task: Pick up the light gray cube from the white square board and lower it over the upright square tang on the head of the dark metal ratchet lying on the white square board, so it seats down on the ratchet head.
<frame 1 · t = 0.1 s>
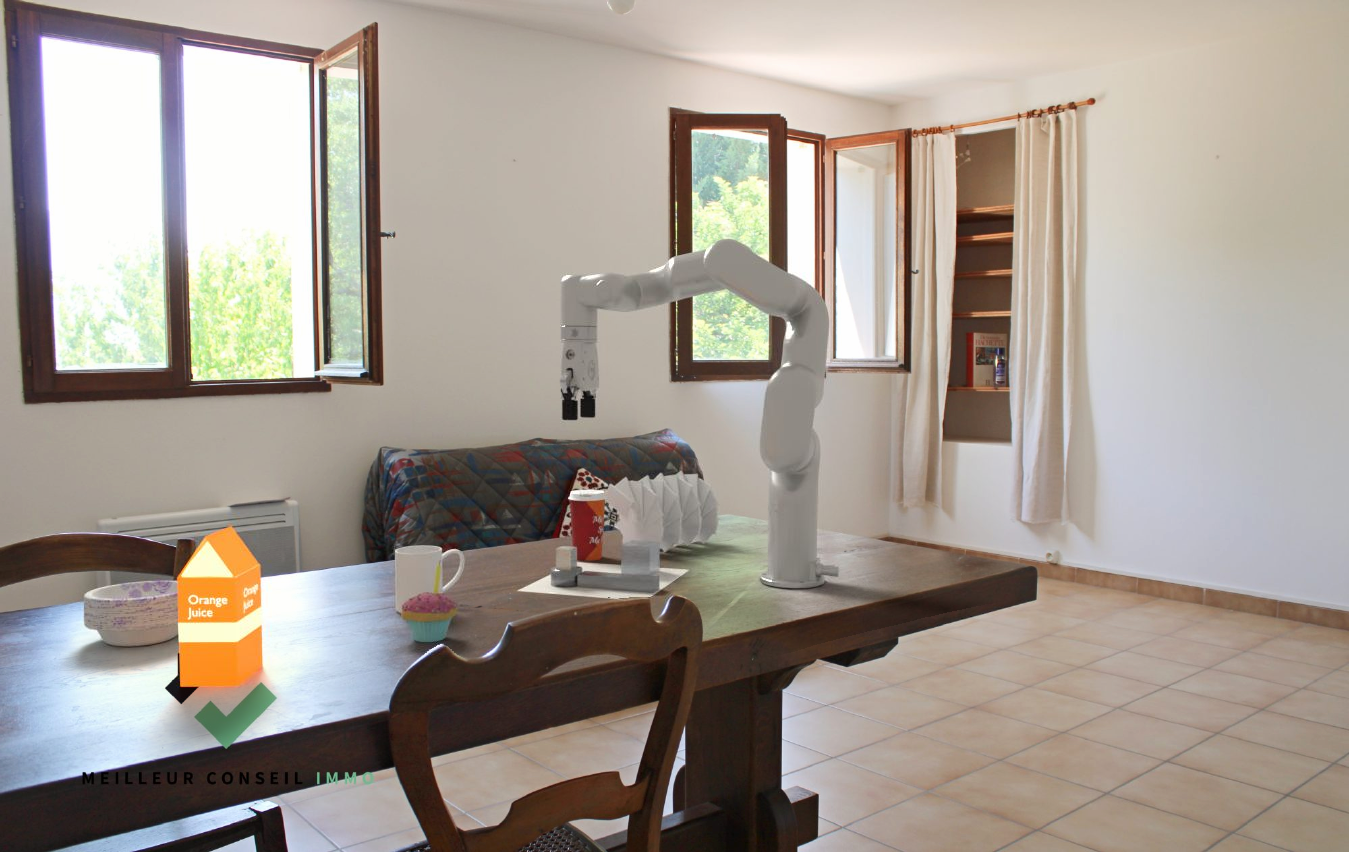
hand: (579, 418, 207), 31 cm above the table, tool pointing down, fingers open, 9 cm apart
white pleated paper lantern: (666, 550, 230), on the table
cupcake: (429, 639, 155), on the table
light gray cube: (640, 572, 201), point 1 cm above the table, touching white square board
ratchet: (566, 584, 190), resting on white square board
paper bowls: (141, 640, 154), on the table
orange juice: (222, 677, 136), on the table
coffee cup: (587, 561, 216), on the table
mug: (431, 609, 174), on the table
white square board: (607, 582, 194), on the table
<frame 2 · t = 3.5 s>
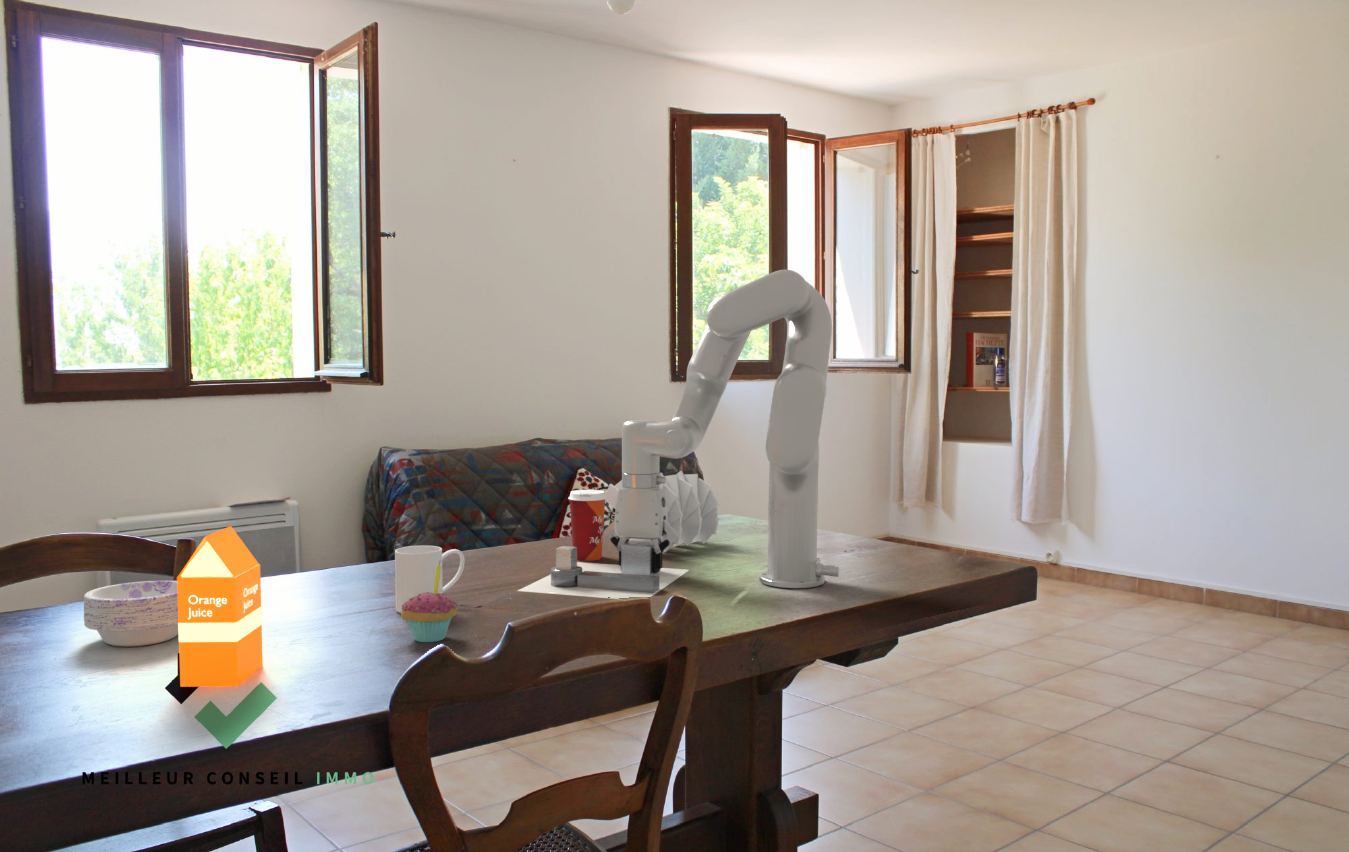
hand: (640, 570, 201), 1 cm above the table, tool pointing down, fingers closed on light gray cube, 6 cm apart
light gray cube: (640, 572, 201), point 1 cm above the table, touching gripper, white square board
everything else where it was.
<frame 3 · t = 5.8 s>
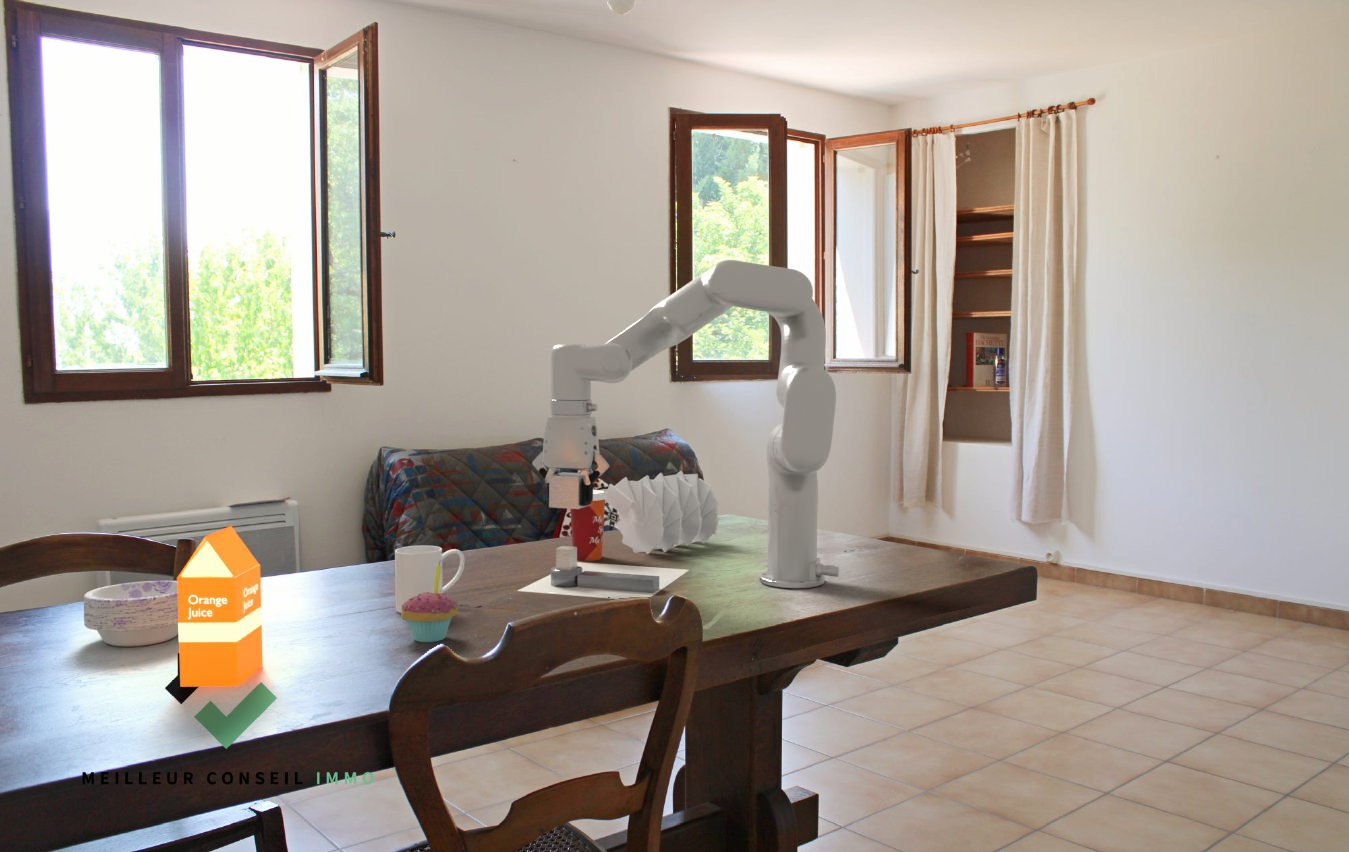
hand: (570, 503, 190), 16 cm above the table, tool pointing down, fingers closed on light gray cube, 6 cm apart
light gray cube: (570, 506, 190), point 15 cm above the table, touching gripper
everything else where it was.
when the fingers open (5 cm above the table, at t = 8.3 s): light gray cube stays where it is, resting on ratchet.
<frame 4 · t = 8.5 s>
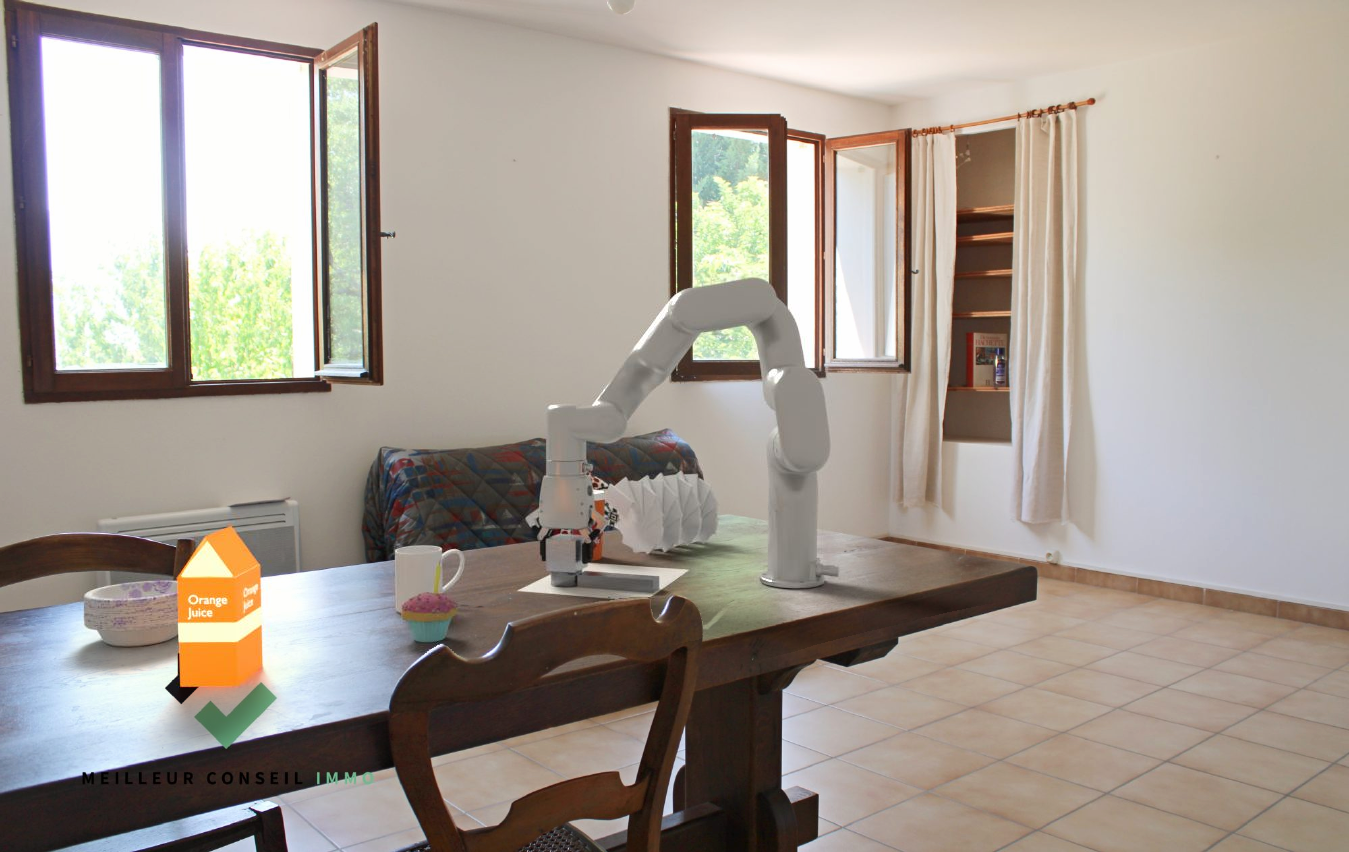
hand: (566, 560, 190), 5 cm above the table, tool pointing down, fingers open, 7 cm apart
light gray cube: (567, 568, 190), point 4 cm above the table, touching ratchet
everything else where it was.
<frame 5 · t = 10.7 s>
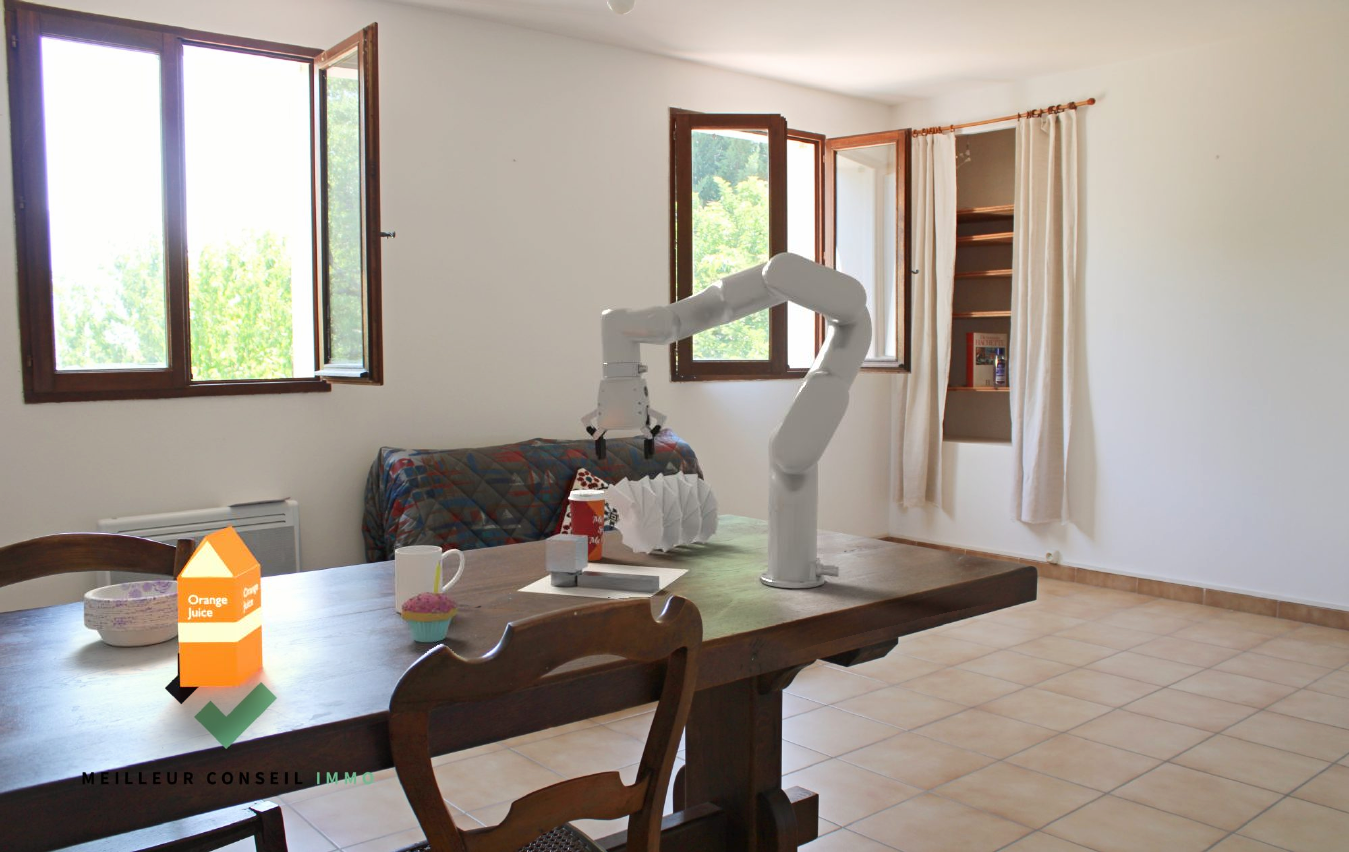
hand: (625, 459, 197), 24 cm above the table, tool pointing down, fingers open, 9 cm apart
nothing on the table moved.
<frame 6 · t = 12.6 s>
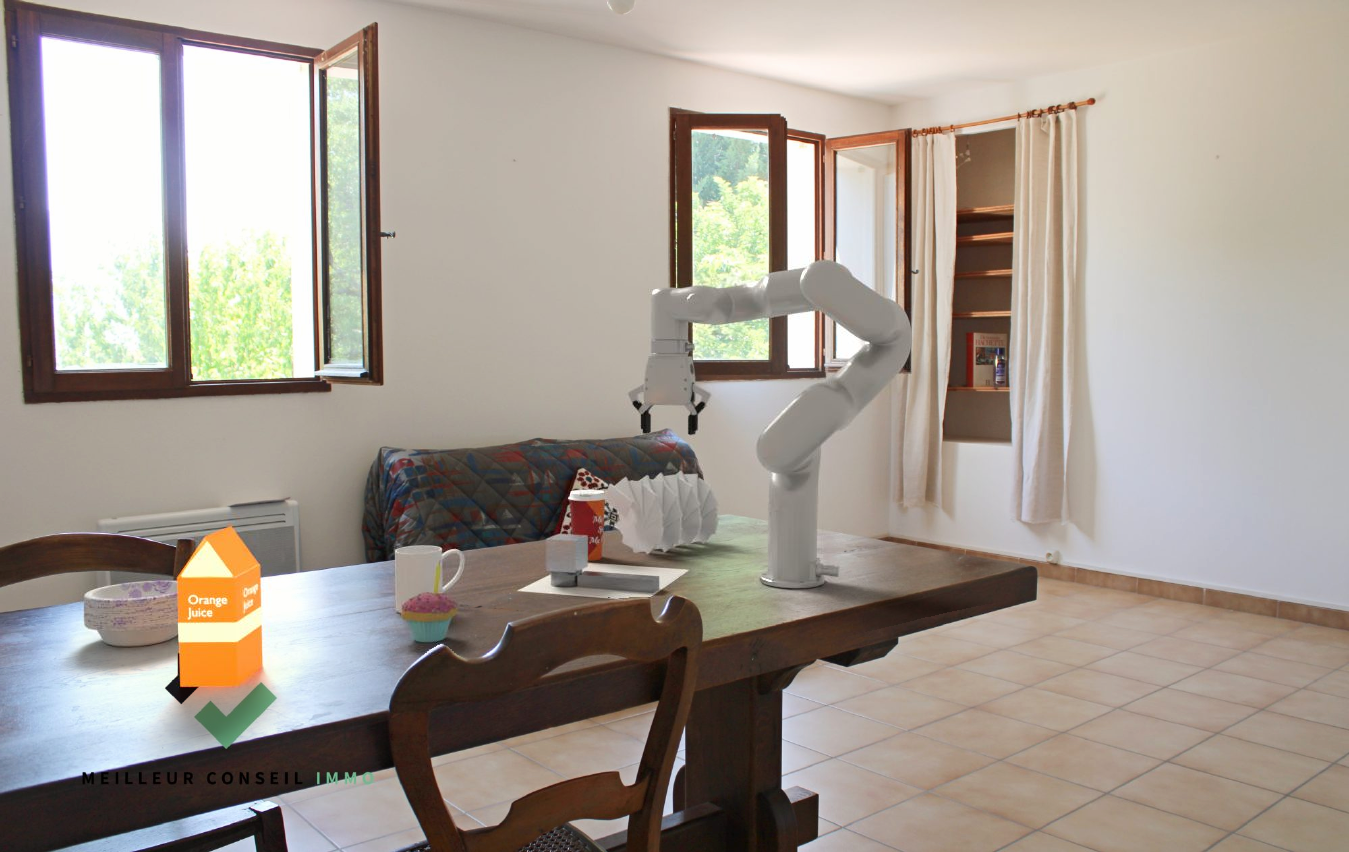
hand: (669, 433, 203), 28 cm above the table, tool pointing down, fingers open, 9 cm apart
nothing on the table moved.
at the end: light gray cube 0.1 cm off-centre on the ratchet, point 3.0 cm above the ratchet's base; light gray cube tilted 0°; the gripper is holding nothing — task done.
